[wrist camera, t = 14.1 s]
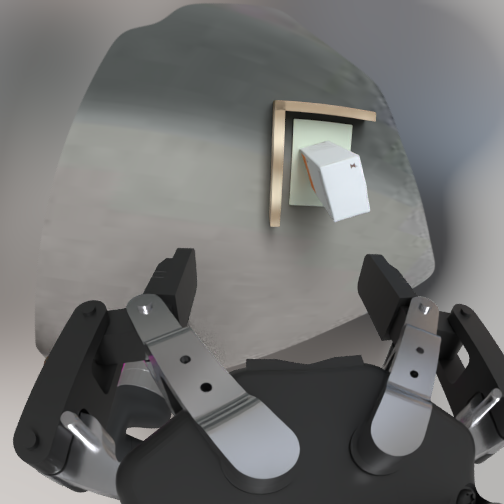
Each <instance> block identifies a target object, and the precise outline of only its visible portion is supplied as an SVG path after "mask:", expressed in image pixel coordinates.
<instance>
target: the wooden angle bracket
mask: <svg viewBox="0 0 504 504" xmlns="http://www.w3.org/2000/svg"><path fill="white" fill-rule="evenodd" d="M285 111H295V112H307V113H317V114H326V115H334V116H342V117H349V118H355V119H362V120H368V121H375V122H376V112H371V111H365V110H360V109H354V108H347V107H341V106H334V105H326V104H317V103H307V102H296V101H281V100H275V101H273V127H272V158H271V184H270V208H269V219H270V227H280V212H281V195H282V176H283V156H284V132H285Z"/></svg>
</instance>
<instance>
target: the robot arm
mask: <svg viewBox="0 0 504 504" xmlns="http://www.w3.org/2000/svg"><path fill="white" fill-rule="evenodd" d="M196 288H197V273H196V260H195V250H194V248H177V250H176V252H175V254H174V256H173V258H166V259H165V260H163V261H162V262H161V263H159V265H158V266H157V268H156V270H155V272H154V274H153V276H152V278H151V279H150V281H149V283H148V285H147V287H146V289H145V291H144V293H143V294H141V295H138V296H136V297H134V298H132V299H131V300H130V301H129V302H128V304H127V306H126V308H124V309H118V310H110V311H107V309H106V306H105V304H104V303H102V302H101V301H96V300H92V301H87V302H84V303H82V304H81V305H79V306H78V307H77V308H76V309H75V310H74V312H73V314H72V315H71V317H70V319H69V320H68V322H67V324H66V325H65V327H64V329H63V331H62V332H61V334H60V336H59V338H58V339H57V341H56V343H55V345H54V347H53V349H52V350H51V352H50V354H49V356H48V358H47V360H46V362H45V364H44V366H43V368H42V370H41V372H40V374H39V376H38V378H37V380H36V383H35V385H34V387H33V389H32V391H31V394H30V396H29V398H28V400H27V403H26V405H25V407H24V410H23V412H22V415H21V417H20V420H19V422H18V426H17V428H16V431H15V433H14V437H13V444H14V448H15V451H16V453H17V455H18V456H19V457H20V458H21V459H22V460H23V461H24V462H26V463H27V464H29V465H30V466H32V467H33V468H35V469H36V470H37V471H38V472H39V473H41V474H42V475H44V476H46V477H47V478H49V479H51V480H53V481H54V482H56V483H58V484H60V485H62V486H65V487H67V488H69V489H71V490H73V491H75V492H86V491H91V492H94V493H97V494H100V495H104V496H107V497H111V498H115V499H118V500H120V502H121V504H500V503H492V502H489V501H487V500H485V499H483V498H482V497H481V496H480V495H479V494H478V492H477V490H476V487H475V482H474V463H476V464H479V463H482V462H483V461H485V460H486V459H488V458H489V457H491V456H492V455H493V454H495V453H496V452H497V451H499V450H500V449H501V448H502V447H504V355H503V353H502V351H501V350H500V348H499V347H498V345H497V344H496V342H495V341H494V339H493V338H492V336H491V335H490V333H489V332H488V330H487V329H486V327H485V326H484V324H483V323H482V322H481V320H480V319H479V318H478V316H477V315H476V313H475V312H474V311H473V310H472V309H471V308H469V307H468V306H466V305H462V304H456V305H455V306H454V307H453V309H452V311H451V313H446V312H441V311H439V309H438V306H437V305H436V304H435V303H434V302H433V301H431V300H430V299H428V298H425V297H418V296H417V295H416V293H415V292H414V290H413V289H412V288H411V286H410V285H409V284H408V283H407V281H406V280H405V279H404V278H403V276H402V275H401V273H400V272H399V271H398V270H397V269H396V268H394V267H393V266H391V265H390V264H389V263H388V262H387V261H386V259H385V258H384V257H383V256H382V255H378V254H367V255H366V256H365V258H364V262H363V265H362V269H361V273H360V277H359V281H358V293H359V296H360V297H361V299H362V301H363V303H364V305H365V307H366V309H367V311H368V313H369V315H370V317H371V319H372V321H373V323H374V326H375V328H376V330H377V332H378V334H379V336H380V338H381V340H382V341H384V340H392V341H393V342H392V344H391V346H390V348H389V351H388V354H387V356H386V359H385V361H384V364H383V366H382V368H380V367H378V366H375V365H371V364H366V363H364V362H363V360H362V357H361V355H356V356H345V357H334V358H331V359H327V360H324V361H320V362H317V363H313V364H300V363H294V362H288V361H282V360H277V359H246V368H242V369H238V370H234V371H232V372H229V373H228V372H227V371H226V369H225V368H224V367H223V366H222V365H221V364H220V362H219V361H218V360H217V359H216V358H215V357H214V355H213V354H212V353H211V352H210V351H209V349H208V348H207V347H206V346H205V345H204V343H203V342H202V341H201V340H200V339H199V337H198V336H197V335H196V334H195V332H194V331H193V330H192V329H191V328H190V327H189V325H188V320H189V316H190V312H191V308H192V304H193V301H194V297H195V293H196ZM462 345H464V347H465V348H466V350H467V352H468V354H469V358H470V359H469V364H468V366H467V367H466V369H465V368H464V366H463V364H462V362H461V360H460V358H459V356H458V355H457V353H458V352H459V350H460V348H461V347H462ZM124 363H125V365H124ZM123 366H124V367H123ZM122 369H123V370H122ZM436 374H437V376H438V378H439V381H440V383H441V385H442V388H443V390H444V392H445V395H446V397H447V400H448V402H449V405H450V407H451V410H452V412H453V415H454V417H453V416H451V415H450V414H448V413H447V412H445V411H444V410H442V409H441V408H440V407H438V406H436V405H435V404H434V403H432V402H431V401H430V399H431V394H432V390H433V385H434V380H435V375H436ZM171 413H172V414H173V415H174V417H173V418H171V419H170V417H171ZM131 427H142V428H159V429H158V430H157V431H156V432H154V433H153V434H152V435H151V436H149V437H148V438H147V439H145V440H144V441H142V440H139V439H137V438H134V437H132V436H130V435H128V434H126V429H127V428H131Z"/></svg>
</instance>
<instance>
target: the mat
mask: <svg viewBox="0 0 504 504" xmlns="http://www.w3.org/2000/svg"><path fill="white" fill-rule="evenodd" d="M351 138H352V125H349V124H341V123H333V122H325V121H315V120H304V119H294V120H293V143H292V162H291V180H290V195H289V205H303V206H323V204H322V203H321V201H320V200H319V198H318V197H317V195H316V194H315V192H314V191H313V189H312V188H311V184H310V180H309V177H308V173H307V170H306V167H305V164H304V161H303V158H302V155H301V152H300V148H304V147H307V146H310V145H314V144H317V143H321V142H324V141H330V142H332V143H334V144H336V145H339V146H341V147H343V148H345V149H347V150H349V151H350V149H351Z"/></svg>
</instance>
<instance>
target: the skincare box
mask: <svg viewBox="0 0 504 504" xmlns="http://www.w3.org/2000/svg"><path fill="white" fill-rule="evenodd" d="M300 152H301V155H302V158H303V161H304V164H305V167H306V170H307V173H308V177H309V180H310V184H311V188H312V189H313V191H314V192H315V194H316V195H317V197H318V198H319V200H320V201H321V203H322V204H323V206H324V207H325V209H326V210H327V212H328V213H329V215H330V216H331V218H332V220H333V221H334V222H337V221H340V220H343V219H347V218H350V217H354V216H357V215H360V214H364V213H367V212H370V206H369V200H368V195H367V187H366V182H365V178H364V174H363V170H362V166H361V161H360V157H359V155H357V154H355V153H353V152H351V151H349V150H347V149H345V148H343V147H341V146H339V145H336V144H334V143H332V142H330V141H324V142H321V143H317V144H314V145H310V146H307V147H304V148H300Z"/></svg>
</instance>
